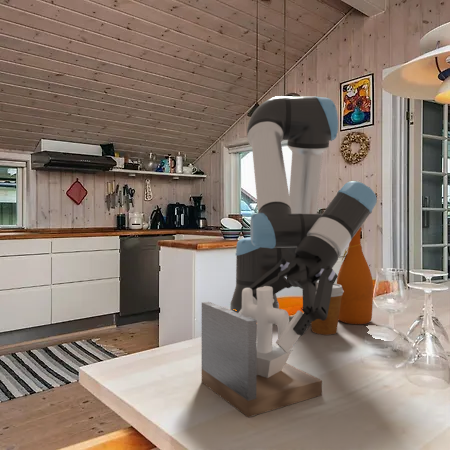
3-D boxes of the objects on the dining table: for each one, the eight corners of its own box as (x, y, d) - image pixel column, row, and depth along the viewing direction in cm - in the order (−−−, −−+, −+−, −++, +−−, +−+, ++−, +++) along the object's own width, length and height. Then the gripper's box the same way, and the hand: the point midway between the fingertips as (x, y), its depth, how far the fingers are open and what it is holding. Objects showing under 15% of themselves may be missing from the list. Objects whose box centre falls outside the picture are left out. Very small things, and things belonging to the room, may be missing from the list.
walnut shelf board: (268, 366, 83) (268, 354, 83) (321, 395, 70) (321, 380, 70) (201, 382, 76) (201, 368, 75) (248, 417, 63) (248, 400, 63)
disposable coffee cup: (351, 332, 107) (351, 286, 106) (325, 339, 101) (326, 290, 101) (323, 324, 115) (323, 281, 114) (297, 329, 109) (298, 284, 109)
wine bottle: (352, 315, 125) (353, 215, 124) (380, 322, 117) (381, 215, 116) (328, 319, 120) (330, 215, 119) (355, 327, 112) (357, 215, 111)
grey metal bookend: (208, 366, 76) (208, 301, 76) (256, 398, 63) (256, 320, 63) (201, 368, 75) (201, 302, 75) (248, 400, 63) (248, 321, 62)
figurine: (275, 384, 69) (276, 293, 68) (230, 370, 75) (231, 286, 74) (297, 371, 74) (298, 287, 74) (254, 359, 80) (255, 281, 80)
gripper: (386, 267, 70) (319, 373, 63) (290, 254, 92) (232, 331, 85) (364, 237, 67) (292, 343, 60) (271, 230, 89) (209, 309, 82)
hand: (256, 337), depth 72 cm, fingers open, 13 cm apart
